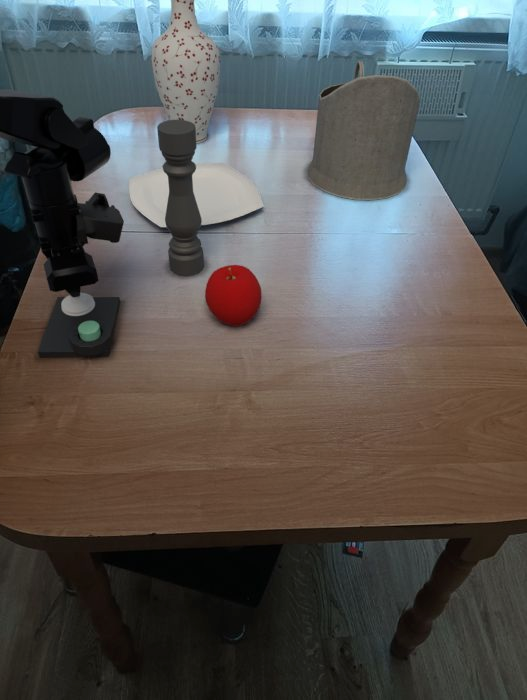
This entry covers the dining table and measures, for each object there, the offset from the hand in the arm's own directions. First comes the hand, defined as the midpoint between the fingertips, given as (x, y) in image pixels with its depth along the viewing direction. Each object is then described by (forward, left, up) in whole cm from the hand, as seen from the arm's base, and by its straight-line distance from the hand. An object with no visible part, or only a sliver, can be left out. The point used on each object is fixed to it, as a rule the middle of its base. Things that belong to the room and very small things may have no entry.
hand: (75, 292), depth 81 cm
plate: (+29, +33, -7) cm, 44 cm away
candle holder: (+20, +10, -7) cm, 23 cm away
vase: (+38, +65, -7) cm, 75 cm away
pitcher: (+70, +35, -7) cm, 78 cm away
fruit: (+23, -6, -7) cm, 25 cm away
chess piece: (0, 0, -3) cm, 3 cm away
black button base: (0, -1, -6) cm, 6 cm away
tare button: (+1, -6, -4) cm, 7 cm away
